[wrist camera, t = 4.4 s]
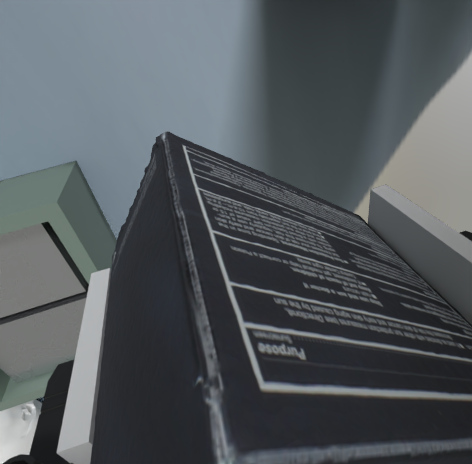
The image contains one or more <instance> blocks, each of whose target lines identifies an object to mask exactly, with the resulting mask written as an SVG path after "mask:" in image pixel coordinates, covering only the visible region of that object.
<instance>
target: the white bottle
mask: <svg viewBox="0 0 472 464" xmlns="http://www.w3.org/2000/svg"><path fill="white" fill-rule="evenodd" d="M41 406H42V403H41V402H39V401H37V400H36V399H35V400H32V401H29V402H26V403H23V404H20V405H17V406H15V407H12V408H9V409H6V410H3V411H0V464H3V463H4V462H5V461H7V460H8V459H10V458H12V457H15V456H17V455H20V454H24V455H29V453H30V449H31V445H32V442H33V438H34V434H35V430H36V426H37V422H38V418H39V415H40V414H41V411H40V410H41Z"/></svg>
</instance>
